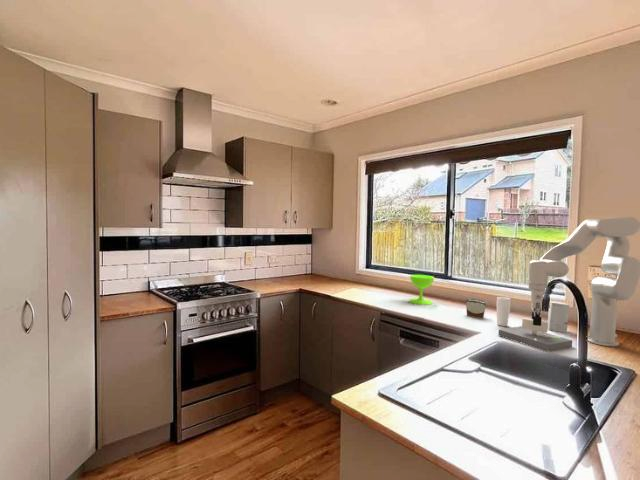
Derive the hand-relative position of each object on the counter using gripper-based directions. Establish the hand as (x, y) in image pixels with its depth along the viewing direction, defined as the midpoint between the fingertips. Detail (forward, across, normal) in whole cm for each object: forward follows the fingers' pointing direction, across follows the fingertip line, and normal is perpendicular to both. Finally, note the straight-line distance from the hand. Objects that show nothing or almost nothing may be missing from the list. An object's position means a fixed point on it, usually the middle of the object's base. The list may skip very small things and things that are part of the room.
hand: (536, 322), depth 170 cm
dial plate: (+9, 0, +1) cm, 9 cm away
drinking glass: (+9, +23, +14) cm, 28 cm away
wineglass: (+8, +56, +66) cm, 87 cm away
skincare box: (+10, +30, -12) cm, 34 cm away
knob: (+5, -1, -2) cm, 6 cm away
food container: (+9, +36, +28) cm, 47 cm away
